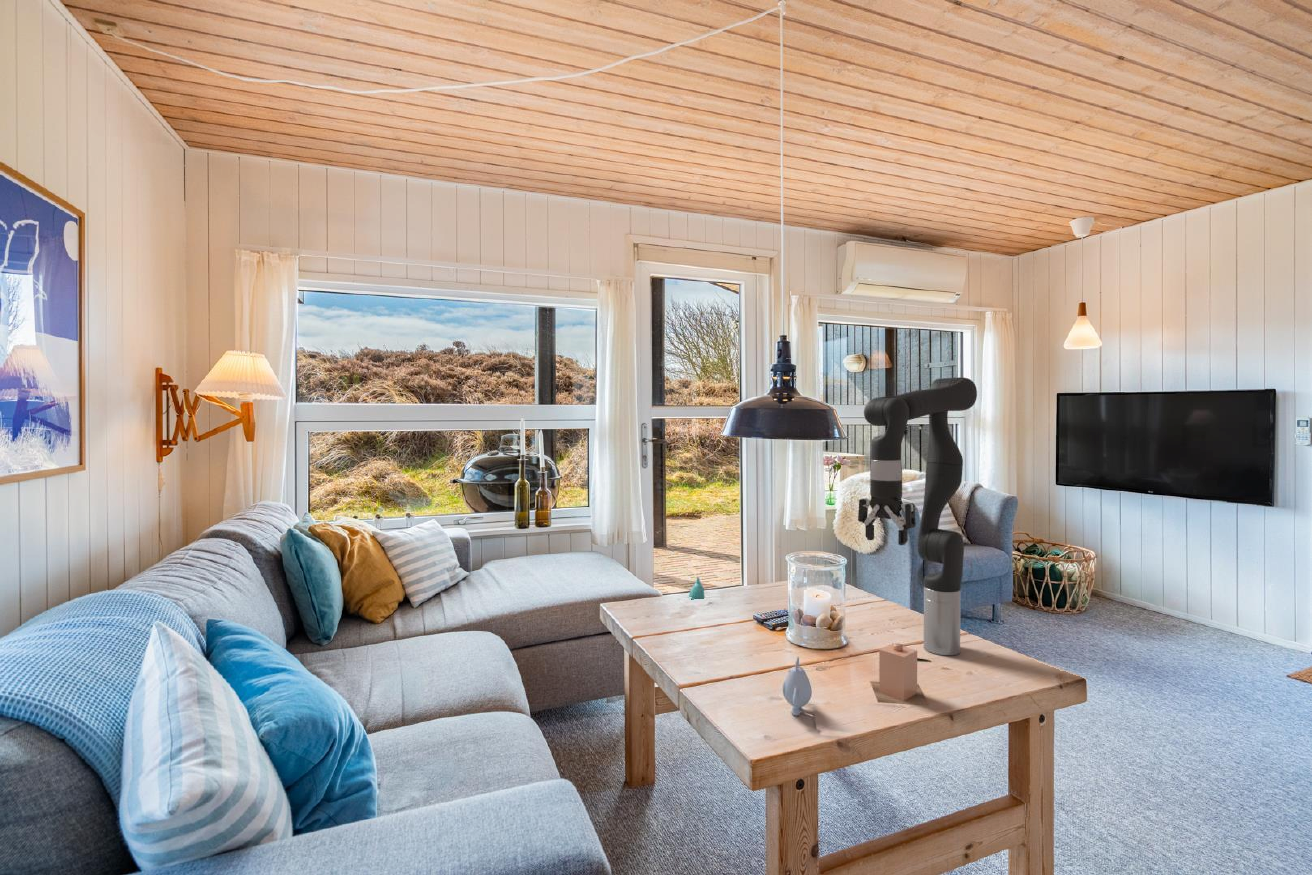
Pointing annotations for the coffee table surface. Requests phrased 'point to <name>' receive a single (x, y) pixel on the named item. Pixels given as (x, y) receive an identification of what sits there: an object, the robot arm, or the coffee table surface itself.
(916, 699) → the board
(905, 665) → the cover
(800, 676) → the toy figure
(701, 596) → the green christmas tree
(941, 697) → the coffee table surface
